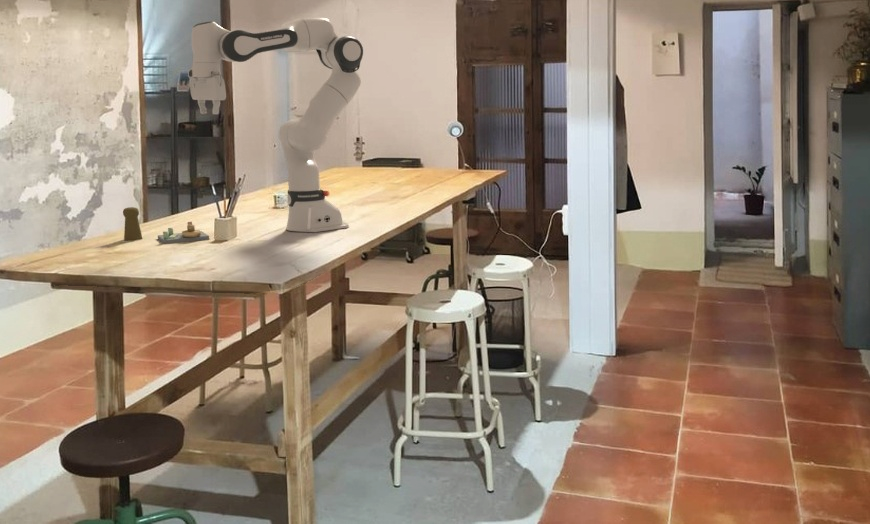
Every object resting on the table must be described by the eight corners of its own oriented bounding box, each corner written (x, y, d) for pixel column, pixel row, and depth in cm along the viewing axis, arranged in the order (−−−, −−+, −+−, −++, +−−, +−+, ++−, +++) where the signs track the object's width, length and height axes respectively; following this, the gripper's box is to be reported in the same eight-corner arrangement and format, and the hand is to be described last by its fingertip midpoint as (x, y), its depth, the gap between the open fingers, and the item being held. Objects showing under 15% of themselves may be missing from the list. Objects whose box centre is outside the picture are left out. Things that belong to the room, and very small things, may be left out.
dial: (201, 236, 301) (200, 225, 300) (182, 237, 299) (181, 226, 299) (199, 231, 311) (198, 221, 310) (181, 232, 309) (180, 222, 308)
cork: (136, 237, 311) (133, 205, 309) (146, 238, 307) (143, 207, 305) (120, 239, 307) (117, 207, 304) (130, 241, 303) (127, 209, 301)
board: (201, 234, 314) (200, 224, 313) (209, 239, 304) (208, 228, 303) (157, 238, 307) (157, 228, 306) (164, 243, 297) (163, 232, 297)
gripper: (229, 71, 291) (232, 114, 294) (203, 72, 306) (205, 112, 309) (211, 71, 287) (214, 115, 290) (185, 72, 303) (188, 113, 305)
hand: (209, 114), depth 300 cm, fingers open, 8 cm apart
